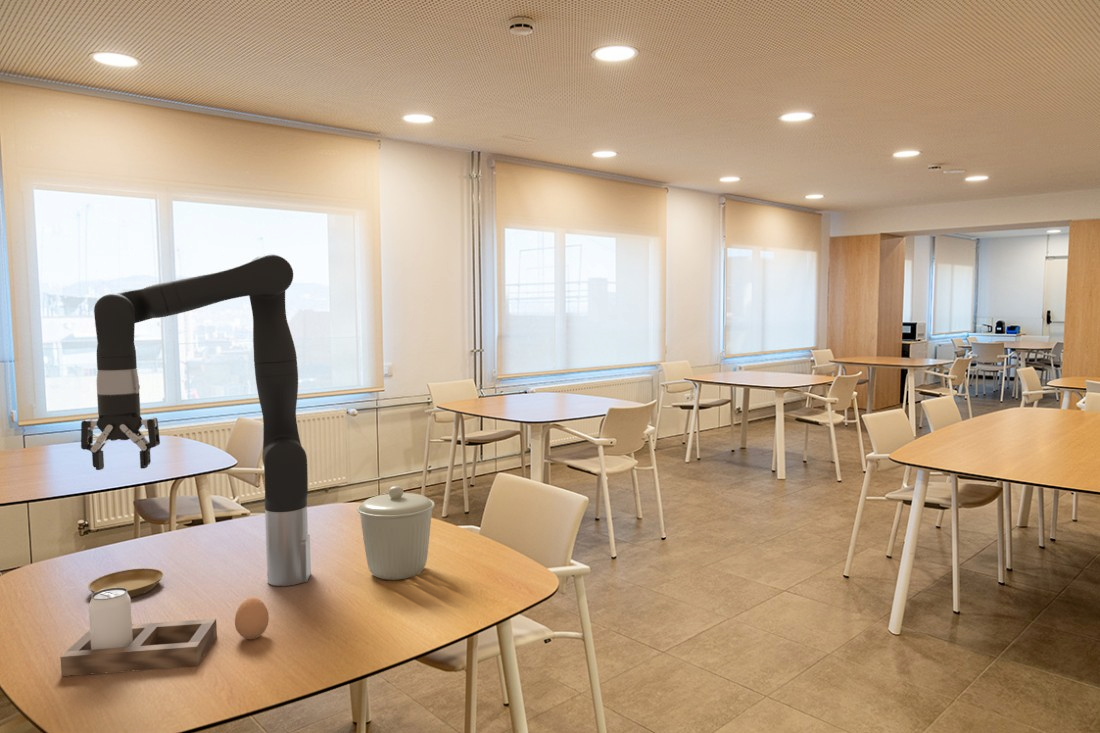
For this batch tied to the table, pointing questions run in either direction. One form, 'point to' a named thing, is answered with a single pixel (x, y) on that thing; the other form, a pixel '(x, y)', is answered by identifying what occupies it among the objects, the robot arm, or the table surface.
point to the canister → (396, 533)
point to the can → (110, 619)
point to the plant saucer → (128, 581)
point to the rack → (144, 649)
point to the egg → (251, 618)
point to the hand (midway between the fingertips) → (122, 468)
